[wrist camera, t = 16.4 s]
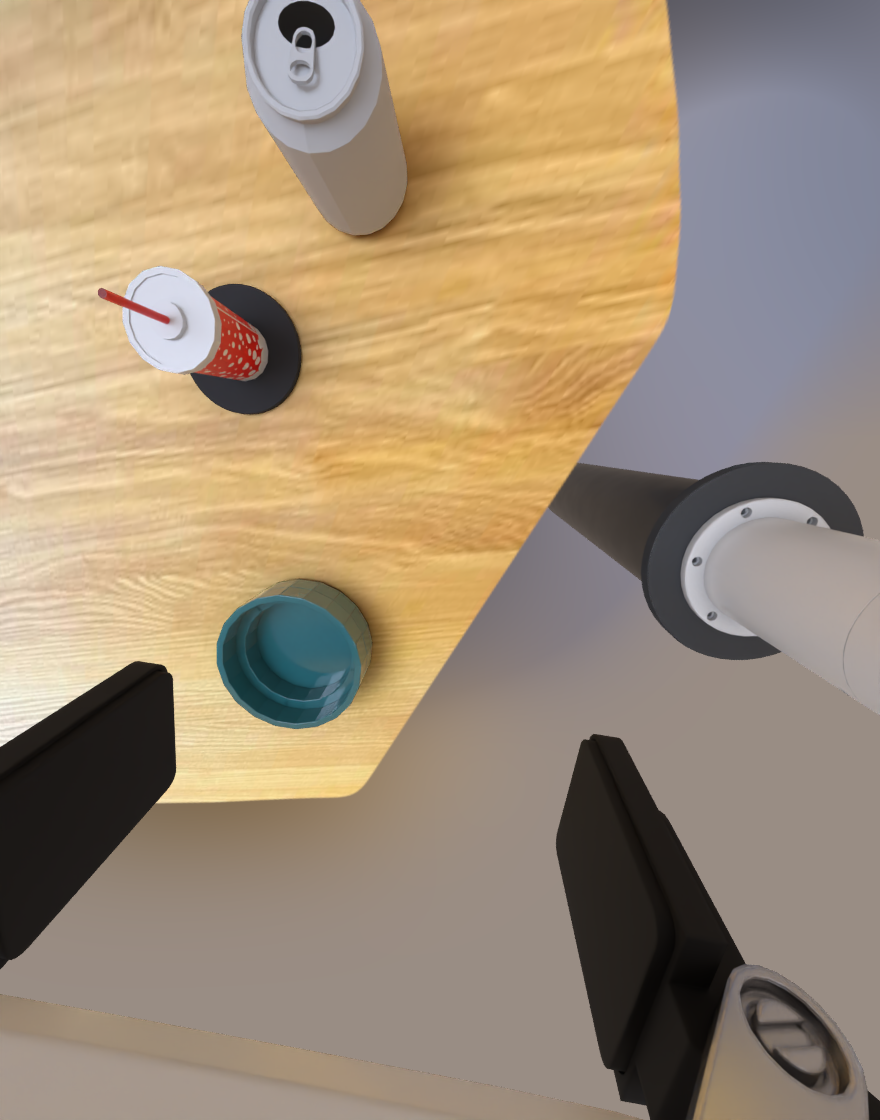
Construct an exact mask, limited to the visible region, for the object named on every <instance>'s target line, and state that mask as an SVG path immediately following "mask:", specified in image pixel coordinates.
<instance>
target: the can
mask: <svg viewBox="0 0 880 1120" xmlns="http://www.w3.org/2000/svg"><path fill="white" fill-rule="evenodd" d="M241 37H242V46H243V55H244V64H245V74H246V83H247V89H248V92H249V94H250V97H251V100H252V103H253V105H254V108H255V111H256V113H257V115H258V116H259V118H260V119H261V121H262V122H263V124H264V126H265V127H266V129H267V130H268V132H269V133H270V135H271V137H272V138H273V140H274V141H275V143H276V144H277V146H278V148H279V149H280V151H281V152H282V154H283V155H284V157H285V159H286V160H287V162H288V163H289V165H290V166H291V168H292V169H293V171H294V173H295V174H296V176H297V177H298V179H299V180H300V182H301V184H302V185H303V187H304V188H305V190H306V191H307V193H308V195H309V196H310V198H311V199H312V201H313V202H314V204H315V206H316V207H317V208H318V210H319V211H320V213H321V214H322V216H323V217H324V218H325V220H326V221H327V222H328V223H330V224H331V225H332V226H334V227H335V228H336V229H338V230H339V231H342V232H345V233H348V234H351V235H368V234H371V233H373V232H375V231H378V230H380V229H382V228H383V227H385V226H386V225H387V224H388V223H389V222H390V221H391V220H392V219H393V218H394V217H395V215H396V214H397V212H398V210H399V208H400V206H401V204H402V203H403V200H404V196H405V191H406V187H407V163H406V159H405V154H404V150H403V145H402V141H401V136H400V132H399V127H398V123H397V118H396V114H395V109H394V105H393V100H392V96H391V91H390V87H389V82H388V78H387V73H386V69H385V64H384V60H383V55H382V51H381V47H380V43H379V40H378V37H377V33H376V30H375V27H374V23H373V21H372V19H371V17H370V16H369V14H368V13H367V11H366V10H365V8H364V6H363V5H362V3H361V2H360V0H249V2H248V5H247V7H246V10H245V13H244V21H243V28H242V36H241Z"/></svg>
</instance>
